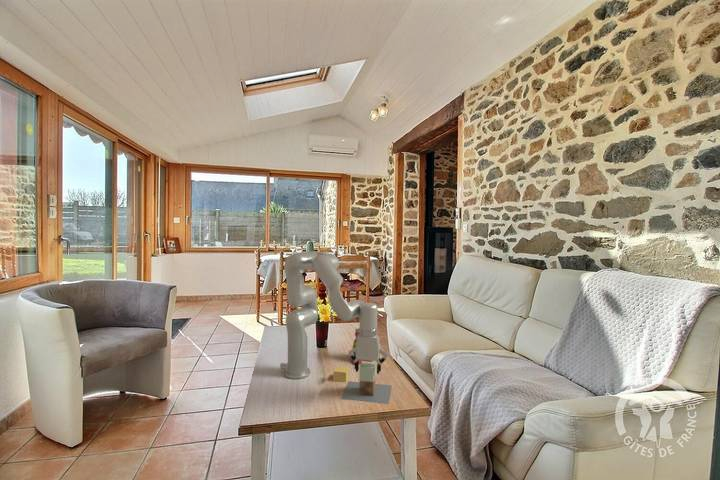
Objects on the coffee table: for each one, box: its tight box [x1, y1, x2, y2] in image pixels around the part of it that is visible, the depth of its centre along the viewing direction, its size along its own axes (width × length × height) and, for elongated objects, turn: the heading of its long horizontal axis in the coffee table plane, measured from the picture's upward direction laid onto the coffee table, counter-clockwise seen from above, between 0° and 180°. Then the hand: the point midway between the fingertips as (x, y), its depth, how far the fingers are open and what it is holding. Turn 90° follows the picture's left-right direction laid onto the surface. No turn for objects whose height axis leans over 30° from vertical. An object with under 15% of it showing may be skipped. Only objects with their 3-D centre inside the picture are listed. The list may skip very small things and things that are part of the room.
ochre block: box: [332, 365, 350, 383], centre depth 157 cm, size 6×6×6 cm
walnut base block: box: [359, 377, 376, 396], centre depth 145 cm, size 6×6×6 cm
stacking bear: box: [351, 329, 373, 366], centre depth 182 cm, size 11×10×18 cm
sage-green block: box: [358, 361, 377, 382], centre depth 145 cm, size 6×6×6 cm
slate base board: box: [340, 380, 393, 405], centre depth 145 cm, size 20×16×2 cm
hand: (367, 371), depth 145 cm, fingers open, 8 cm apart
